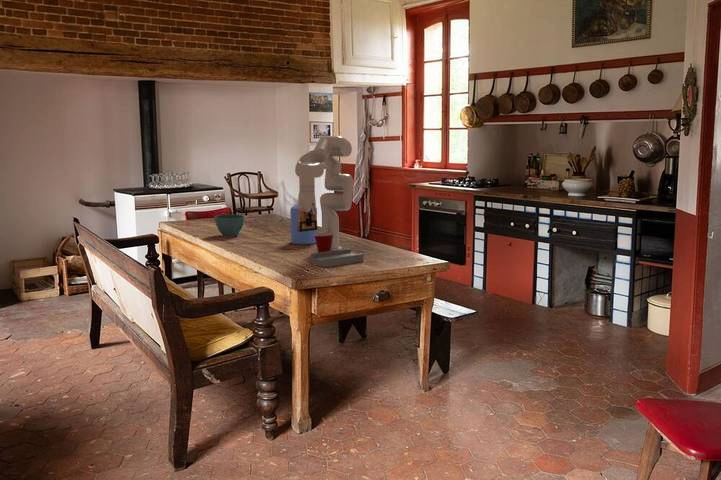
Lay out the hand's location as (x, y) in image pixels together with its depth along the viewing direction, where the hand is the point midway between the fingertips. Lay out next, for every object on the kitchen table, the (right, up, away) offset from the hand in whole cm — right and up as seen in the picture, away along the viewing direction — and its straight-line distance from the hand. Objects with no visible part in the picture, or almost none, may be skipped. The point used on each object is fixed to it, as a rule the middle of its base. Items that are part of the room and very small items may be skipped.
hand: (307, 225), depth 328 cm
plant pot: (-55, -5, +84) cm, 101 cm away
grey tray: (+15, -18, +3) cm, 24 cm away
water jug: (-7, -9, +61) cm, 62 cm away
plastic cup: (+7, -16, +21) cm, 27 cm away
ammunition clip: (0, -3, 0) cm, 3 cm away
